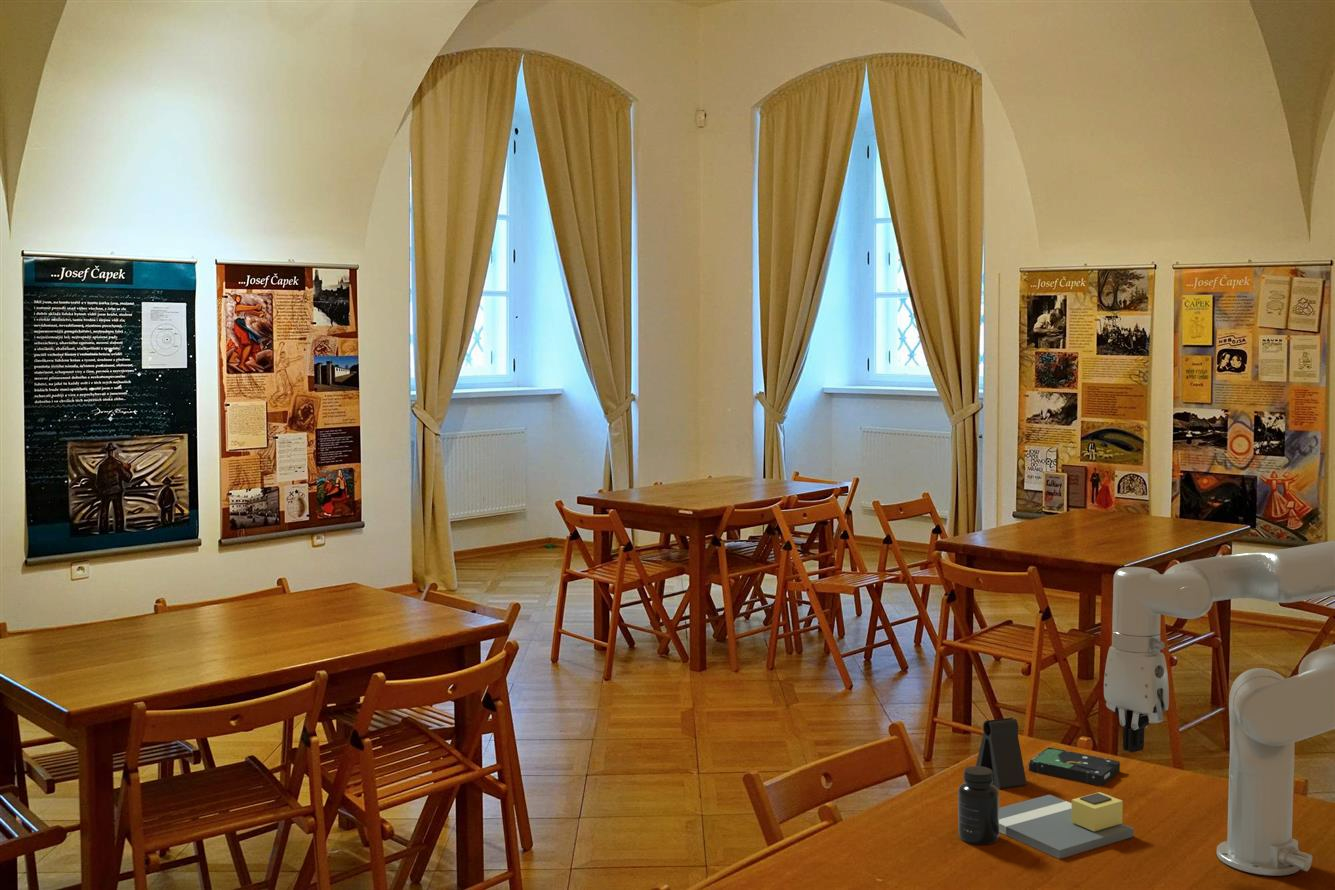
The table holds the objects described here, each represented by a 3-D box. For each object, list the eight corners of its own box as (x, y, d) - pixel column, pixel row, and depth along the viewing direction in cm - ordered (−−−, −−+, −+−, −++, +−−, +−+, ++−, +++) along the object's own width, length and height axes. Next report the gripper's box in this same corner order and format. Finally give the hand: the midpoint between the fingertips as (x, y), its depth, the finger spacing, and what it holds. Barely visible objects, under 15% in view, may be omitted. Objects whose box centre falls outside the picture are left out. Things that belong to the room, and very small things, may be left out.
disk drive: (1120, 774, 251) (1047, 759, 260) (1120, 761, 250) (1047, 745, 259) (1102, 789, 242) (1027, 773, 251) (1102, 775, 242) (1028, 759, 251)
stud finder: (1122, 823, 219) (1122, 799, 219) (1094, 831, 216) (1094, 806, 215) (1099, 814, 224) (1099, 790, 223) (1071, 822, 220) (1071, 797, 220)
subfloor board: (1133, 836, 218) (1133, 828, 218) (1059, 859, 209) (1059, 850, 209) (1049, 802, 234) (1049, 794, 234) (977, 821, 225) (977, 813, 225)
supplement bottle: (971, 827, 223) (972, 760, 222) (1006, 837, 218) (1007, 769, 217) (950, 838, 218) (950, 770, 217) (985, 849, 213) (985, 779, 212)
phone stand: (1026, 786, 243) (1027, 724, 242) (999, 789, 241) (1000, 728, 240) (1000, 770, 252) (1001, 711, 251) (974, 774, 250) (974, 714, 249)
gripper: (1189, 648, 206) (1186, 758, 207) (1115, 630, 219) (1112, 734, 220) (1158, 654, 202) (1155, 766, 204) (1084, 636, 215) (1082, 741, 216)
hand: (1133, 749), depth 212 cm, fingers closed
